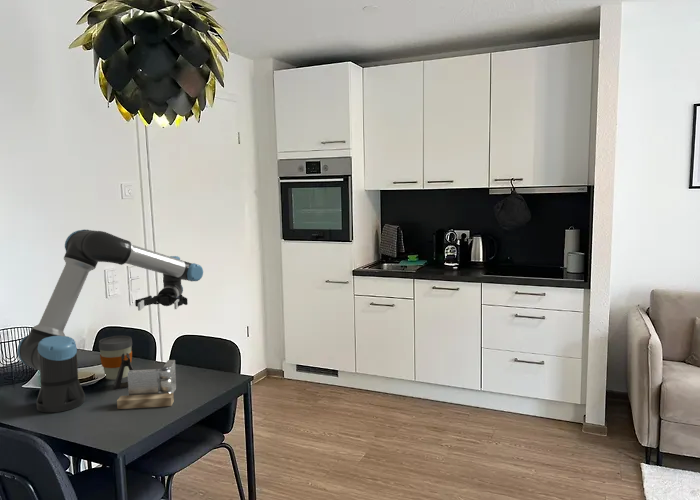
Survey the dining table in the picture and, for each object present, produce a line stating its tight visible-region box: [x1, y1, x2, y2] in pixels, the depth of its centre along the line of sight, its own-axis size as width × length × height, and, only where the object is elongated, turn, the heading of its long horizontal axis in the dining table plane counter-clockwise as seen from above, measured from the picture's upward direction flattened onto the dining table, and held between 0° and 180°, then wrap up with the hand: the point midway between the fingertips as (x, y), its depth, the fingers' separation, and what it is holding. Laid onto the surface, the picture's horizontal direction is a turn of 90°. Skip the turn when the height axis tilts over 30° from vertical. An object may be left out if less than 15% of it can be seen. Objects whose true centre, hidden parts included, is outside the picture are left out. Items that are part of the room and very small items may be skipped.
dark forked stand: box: [114, 353, 135, 390], centre depth 208 cm, size 9×6×12 cm, turn 114°
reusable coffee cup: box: [98, 335, 133, 380], centre depth 218 cm, size 13×13×15 cm
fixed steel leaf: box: [127, 366, 172, 396], centre depth 192 cm, size 14×4×12 cm, turn 97°
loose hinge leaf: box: [159, 359, 177, 394], centre depth 198 cm, size 4×14×11 cm, turn 7°
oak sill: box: [116, 393, 175, 410], centre depth 189 cm, size 18×4×3 cm, turn 97°
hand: (157, 306), depth 209 cm, fingers open, 13 cm apart
